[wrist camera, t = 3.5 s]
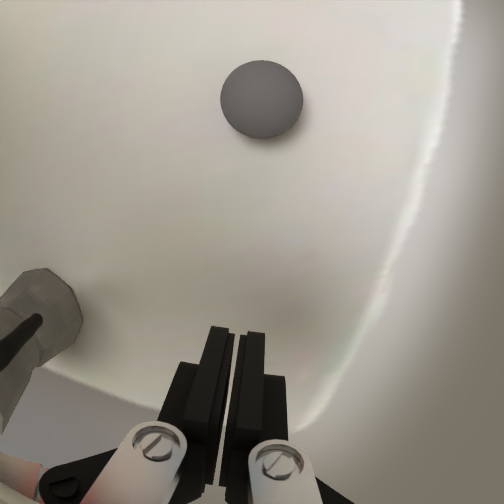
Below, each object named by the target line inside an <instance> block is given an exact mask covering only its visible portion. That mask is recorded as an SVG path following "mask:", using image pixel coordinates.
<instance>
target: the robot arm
mask: <svg viewBox="0 0 504 504" xmlns="http://www.w3.org/2000/svg"><path fill="white" fill-rule="evenodd" d="M234 338H235V334H232V333H229V328H223V327H216V326H211V329H210V332H209V335H208V338H207V341H206V344H205V348H204V351H203V354H202V357H201V360H200V364H199V365H198V364H192V363H187V362H180V364H179V366H178V368H177V371H176V373H175V376H174V378H173V381H172V383H171V386H170V388H169V391H168V394H167V396H166V399H165V401H164V404H163V406H162V409H161V412H160V414H159V417H158V419H157V421H149V422H145V423H141V424H139V425H137V426H135V427H134V428H133V429H132V430H131V431H130V432H129V433H128V434H127V436H126V437H125V439H124V440H123V442H122V443H121V445H120V446H119V447H118V448H116V449H113V450H110V451H107V452H104V453H101V454H98V455H95V456H91V457H88V458H85V459H81V460H78V461H74V462H70V463H67V464H63V465H59V466H56V467H53V468H51V469H48V468H44V467H43V466H42V464H39V463H36V462H32V461H28V460H24V459H21V458H18V457H15V456H11V455H8V454H5V453H2V452H0V504H189V503H190V502H192V501H194V500H196V499H198V498H200V497H201V495H202V493H204V489H205V484H209V485H213V480H214V473H215V468H216V462H217V456H218V450H219V444H220V438H221V432H222V426H223V420H224V414H225V408H226V402H227V395H228V387H229V379H230V370H231V362H232V354H233V346H234ZM264 354H265V333H259V332H251V331H248V333H247V335H240V340H239V347H238V353H237V360H236V366H235V373H234V379H233V386H232V392H231V398H230V405H229V411H228V418H227V425H226V432H225V440H224V448H223V455H222V463H221V471H220V479H219V486H223V487H226V492H225V501H226V502H227V503H228V504H354V503H353V502H351V501H350V500H348V499H347V498H345V497H344V496H342V495H341V494H339V493H338V492H336V491H335V490H333V489H332V488H330V487H329V486H328V485H326V484H325V483H323V482H322V481H320V480H319V479H318V478H316V477H315V475H314V472H313V468H312V465H311V461H310V459H309V457H308V455H307V453H306V452H305V451H304V450H303V449H302V448H301V447H300V446H298V445H296V444H294V443H292V442H289V441H288V425H287V403H286V383H285V377H284V376H277V375H268V374H264Z"/></svg>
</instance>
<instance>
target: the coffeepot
mask: <svg viewBox="0 0 504 504" xmlns="http://www.w3.org/2000/svg"><path fill="white" fill-rule="evenodd" d="M82 322H83V320H82V316H81V312H80V308H79V305H78V302H77V300H76V298H75V296H74V294H73V293H72V291H71V289H70V288H69V287H68V285H67V284H66V283H65V282H64V281H63V280H62V279H60V278H59V277H58V276H56V275H55V274H54V273H52V272H49V271H48V270H47V269H46V268H45V269H35V270H32V271H27V272H23V273H22V274H21V275H20V276H19V277H18V279H17V280H16V281H15V282H14V283H13V284H12V285H11V286H10V287H9V288H8V289H7V290H6V292H5V293H4V294H3V295H2V296H1V297H0V434H1V435H2V434H3V432H4V429H5V428H6V425H7V423H8V421H9V419H10V417H11V415H12V413H13V411H14V409H15V407H16V406H17V404H18V402H19V400H20V398H21V396H22V394H23V392H24V390H25V389H26V387H27V385H28V383H29V381H30V378H31V375H32V371H33V370H34V368H35V367H40V366H42V365H43V364H45V363H46V362H47V361H49V360H50V359H51V358H53V357H54V356H56V355H57V354H58V353H60V352H61V351H62V350H64V349H65V348H67V347H68V346H69V345H71V344H72V343H74V341H75V338H76V336H77V334H78V332H79V330H80V327H81V324H82Z"/></svg>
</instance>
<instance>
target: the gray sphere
mask: <svg viewBox="0 0 504 504" xmlns="http://www.w3.org/2000/svg"><path fill="white" fill-rule="evenodd" d="M220 100H221V107H222V111H223V114H224V116H225V118H226V119H227V121H228V122H229V123H230V124H231V126H232V127H233V128H235V129H236V130H237V131H239V132H240V133H242V134H244V135H247V136H250V137H254V138H270V137H274V136H277V135H280V134H282V133H284V132H285V131H287V130H288V129H289V128H290V127H291V126H292V125H293V124H294V123H295V122H296V120H297V119H298V117H299V115H300V113H301V110H302V105H303V94H302V89H301V87H300V84H299V82H298V80H297V79H296V77H295V76H294V75H293V74H292V73H291V72H290V71H289V70H288V69H287V68H285V67H284V66H282V65H280V64H278V63H275V62H271V61H264V60H259V61H252V62H248V63H245V64H243V65H241V66H239V67H238V68H236V69H235V70H234V71H233V72H232V73H231V74H230V75H229V76H228V78H227V79H226V81H225V83H224V85H223V87H222V91H221V98H220Z"/></svg>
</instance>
